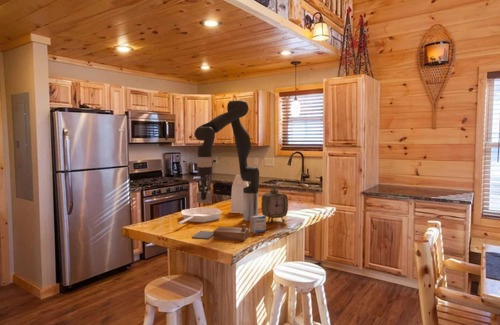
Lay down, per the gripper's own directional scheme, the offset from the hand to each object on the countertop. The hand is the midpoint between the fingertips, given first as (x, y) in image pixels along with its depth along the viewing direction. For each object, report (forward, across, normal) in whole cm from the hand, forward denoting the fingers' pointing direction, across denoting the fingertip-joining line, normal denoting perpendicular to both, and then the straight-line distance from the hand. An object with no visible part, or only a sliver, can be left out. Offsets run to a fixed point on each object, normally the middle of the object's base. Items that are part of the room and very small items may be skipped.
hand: (204, 198), depth 173 cm
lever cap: (+2, 0, 0) cm, 2 cm away
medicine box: (+19, -14, +25) cm, 35 cm away
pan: (+20, -29, -17) cm, 39 cm away
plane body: (+19, 0, +14) cm, 24 cm away
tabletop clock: (+19, -38, +30) cm, 52 cm away
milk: (+19, -61, +4) cm, 64 cm away
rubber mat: (+19, 0, 0) cm, 19 cm away
